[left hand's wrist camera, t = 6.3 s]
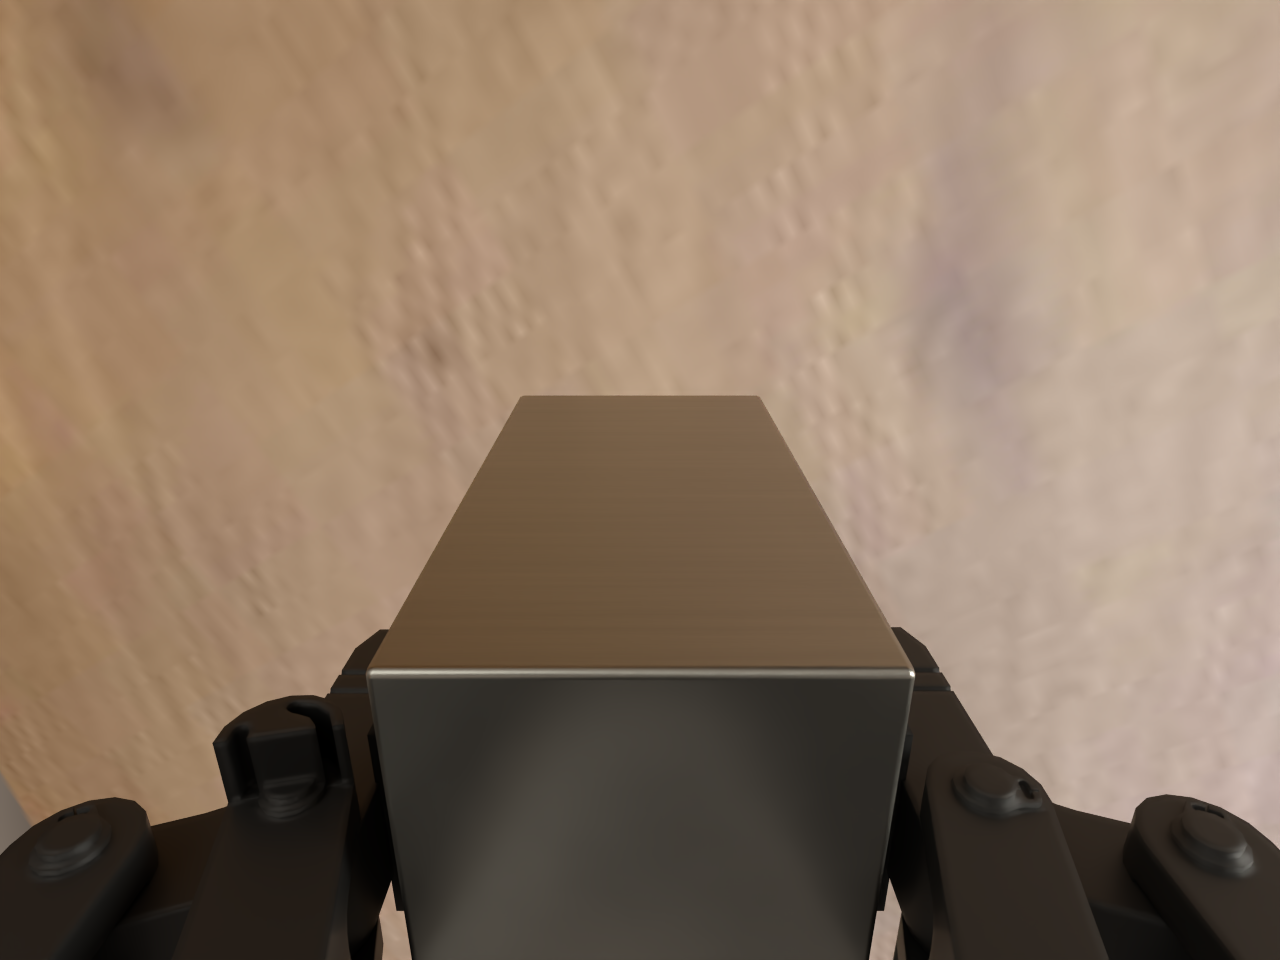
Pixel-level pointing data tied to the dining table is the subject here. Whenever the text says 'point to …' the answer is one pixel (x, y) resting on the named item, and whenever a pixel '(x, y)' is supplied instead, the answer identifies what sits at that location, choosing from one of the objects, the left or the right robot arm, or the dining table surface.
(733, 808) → the bar
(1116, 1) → the dining table surface
